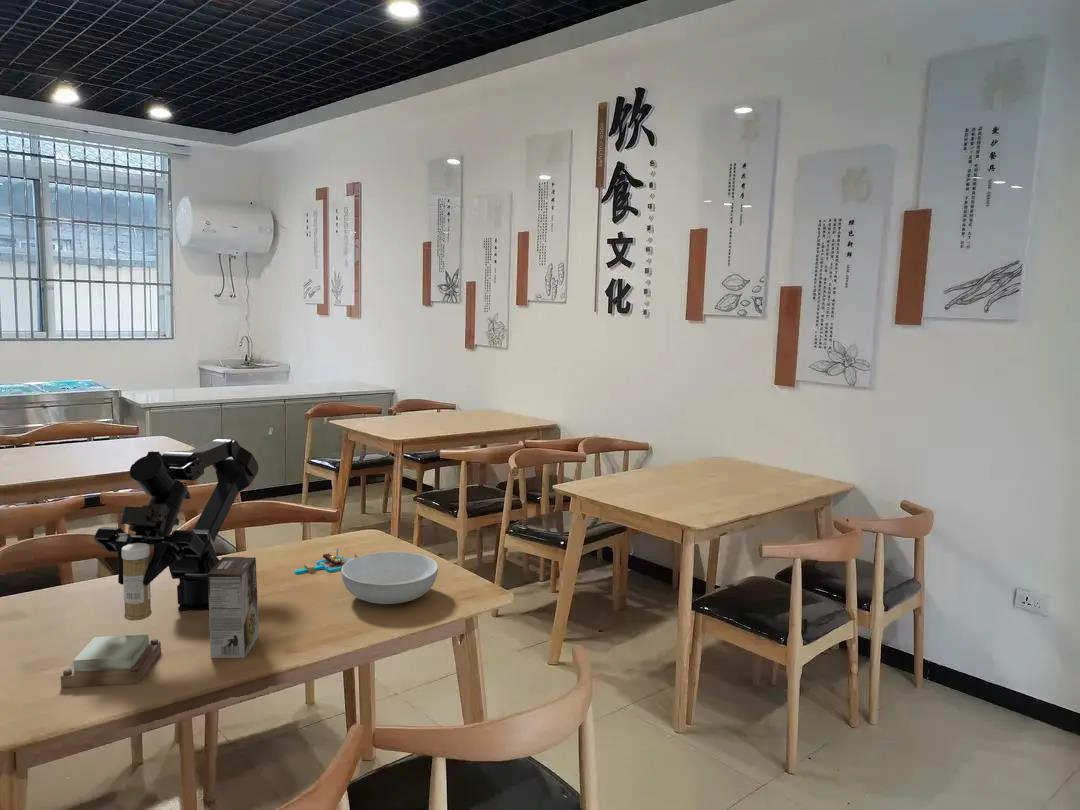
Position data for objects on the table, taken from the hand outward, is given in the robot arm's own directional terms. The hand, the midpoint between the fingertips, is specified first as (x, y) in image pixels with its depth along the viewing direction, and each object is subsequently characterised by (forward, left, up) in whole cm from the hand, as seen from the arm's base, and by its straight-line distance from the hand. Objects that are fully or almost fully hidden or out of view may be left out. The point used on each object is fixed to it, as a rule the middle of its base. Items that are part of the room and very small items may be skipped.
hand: (132, 584), depth 140 cm
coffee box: (-17, 0, -13) cm, 22 cm away
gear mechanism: (-31, -44, -14) cm, 55 cm away
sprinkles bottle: (0, -1, -7) cm, 7 cm away
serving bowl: (-45, -22, -13) cm, 52 cm away
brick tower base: (+2, +6, -13) cm, 14 cm away
